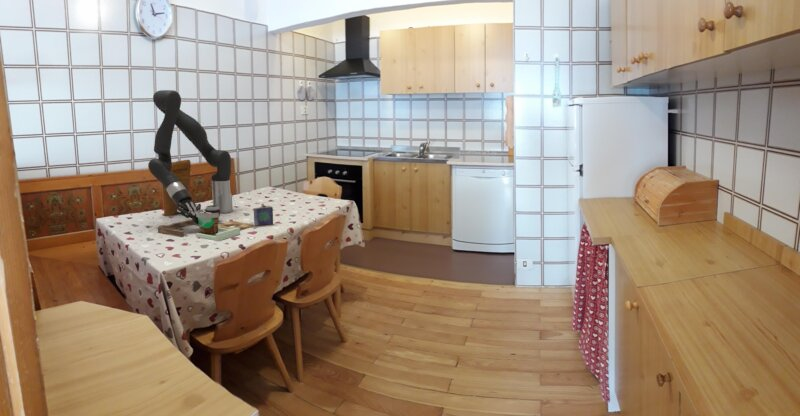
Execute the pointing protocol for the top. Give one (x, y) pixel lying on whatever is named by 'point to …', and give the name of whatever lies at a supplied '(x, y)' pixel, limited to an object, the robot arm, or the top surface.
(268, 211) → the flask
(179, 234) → the walnut stall
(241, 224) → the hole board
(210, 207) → the mate gourd
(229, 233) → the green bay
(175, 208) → the pancake mix bag
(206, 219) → the food container
